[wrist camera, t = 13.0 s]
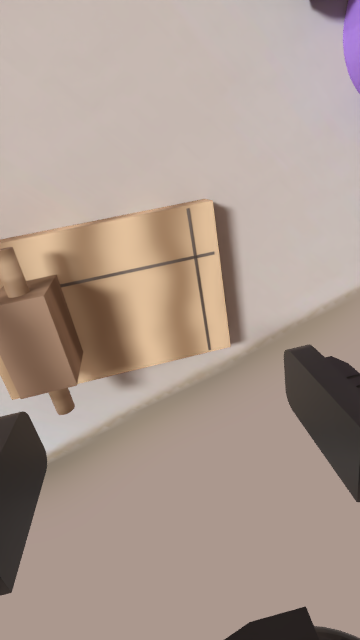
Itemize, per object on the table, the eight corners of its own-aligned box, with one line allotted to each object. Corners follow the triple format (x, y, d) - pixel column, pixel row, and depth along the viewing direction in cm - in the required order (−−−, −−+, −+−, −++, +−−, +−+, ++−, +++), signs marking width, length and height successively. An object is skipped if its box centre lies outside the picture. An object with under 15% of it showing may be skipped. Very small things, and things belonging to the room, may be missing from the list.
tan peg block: (42, 235, 24) (26, 249, 19) (93, 380, 29) (88, 417, 25) (-14, 246, 24) (-44, 263, 19) (48, 391, 29) (35, 430, 25)
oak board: (204, 198, 27) (212, 200, 25) (222, 335, 33) (230, 346, 31) (-42, 248, 26) (-58, 254, 23) (19, 383, 31) (11, 400, 29)
